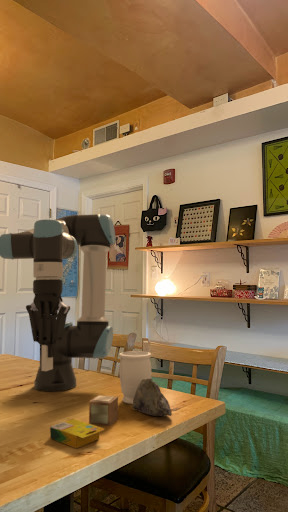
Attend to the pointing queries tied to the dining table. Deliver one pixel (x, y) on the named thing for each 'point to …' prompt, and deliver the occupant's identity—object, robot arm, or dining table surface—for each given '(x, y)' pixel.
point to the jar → (133, 372)
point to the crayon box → (75, 433)
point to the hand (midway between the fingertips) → (47, 369)
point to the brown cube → (103, 410)
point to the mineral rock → (151, 399)
